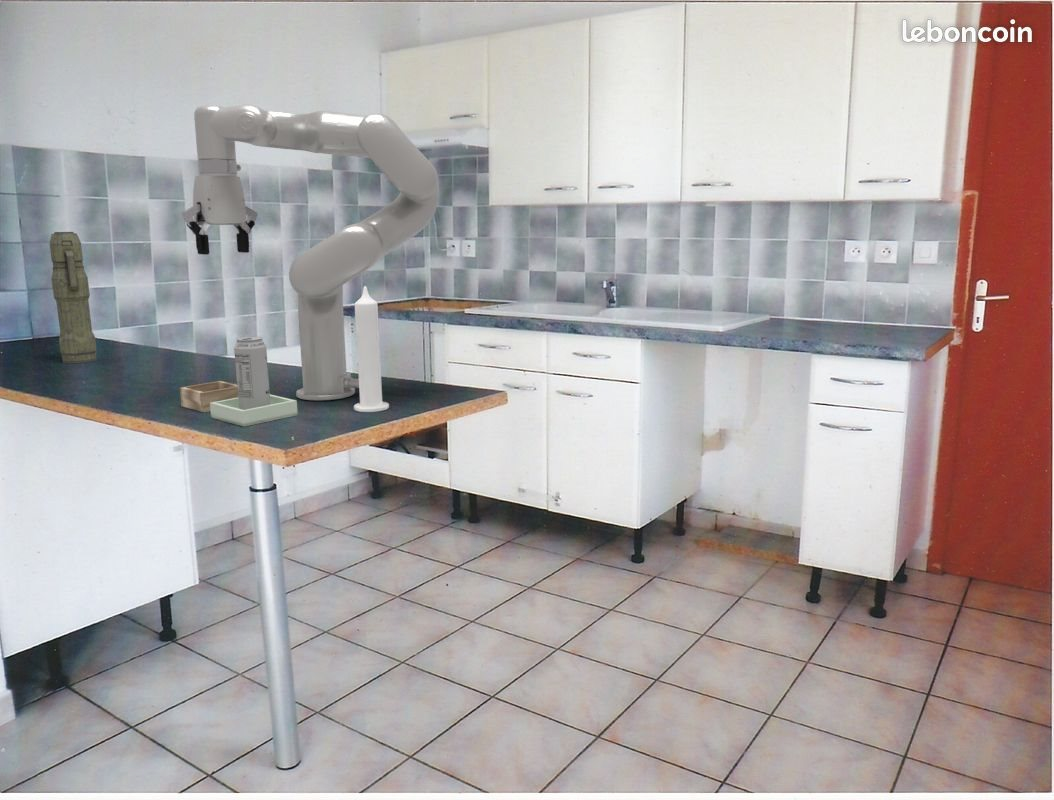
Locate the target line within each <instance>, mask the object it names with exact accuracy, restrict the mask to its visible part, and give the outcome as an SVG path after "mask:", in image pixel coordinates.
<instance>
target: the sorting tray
mask: <svg viewBox="0 0 1054 800" xmlns="http://www.w3.org/2000/svg"><path fill="white" fill-rule="evenodd" d="M270 402H271V405H267V406H262V407H257V408H252V409H247V410H242V409H239V400H238V398H233V399H227V400H222V401H217V402H211V403H210V411H209V412H210V418H212V419H214V420H215V419H216V420H218V421H222V422H226V423H229V424H233V425H235V426H236V425H237V426H240V427H243V428H244V427H249V426H254V425H258V424H263V423H268V422H272V421H273V422H274V421H278V420H282V419H287V418H291V417H296V416H298V415H299V413H298V401H297V400H296V399H291V398H288V397H285V396H284V397H283V396H278V395H275V394H270Z"/></svg>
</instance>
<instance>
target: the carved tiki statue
mask: <svg viewBox="0 0 1054 800" xmlns="http://www.w3.org/2000/svg"><path fill="white" fill-rule="evenodd" d="M50 235H51V236H50V240H49V252H50V257H51V262H52V274H51V277H50V278H51V285H52V293H53V295H52V296H53V298H54V301H55V302H56V309H57V318H58V326H59V338H58V343H59V350H60V351H59V353H60V354H61V358H62V360H61V361H62V362H61V363H63V364H82V363H91V362H92V363H93V362H95V361H97V360H98V357H97V344H96V343H97V341H96V336H95V334H94V332H93V328H92V327H93V326H92V319H91V309H90V303H89V301H90V286H89V285H90V284H89V279H88V275H87V273H86V271H85V267H84V265H83V264H84V263H83V261H84V257H83V250H82V248H83V247H82V243H81V240H80V238H79V236H78V233H75V232H74V231H57V232H56V231H55V232H54V233H51V234H50Z"/></svg>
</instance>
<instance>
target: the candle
mask: <svg viewBox="0 0 1054 800" xmlns="http://www.w3.org/2000/svg"><path fill="white" fill-rule="evenodd" d="M378 306H379V305H378V302H377V300H375V299H374V298H372V297H371V296H370V294H369V290H368V287H367V286H366V285H364V286H363V291H362V295H361V297H360V298H359V299H358V300H357V301H356V302H355V303H354V317H355V320H354V321H355V333H356V334H355V335H356V337H355V339H356V354H357V357H356V358H357V368H358V369H357V372H358V379H359V388H358V389H359V402H358V403H355V404H354V405H353V410H354V411H356V412H359V413H376V412H377V413H378V412H382V411H386V410H388V409H389V408H390V404H389V403H388V402H386V401H383V390H382V387H383V386H382V371H381V370H382V369H381V368H382V367H381V351H380V350H381V348H380V347H381V346H380V329H379V326H380V325H379V312H378V311H379V308H378Z"/></svg>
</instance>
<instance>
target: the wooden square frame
mask: <svg viewBox="0 0 1054 800" xmlns="http://www.w3.org/2000/svg"><path fill="white" fill-rule="evenodd" d="M179 396H180V403H181V404H180V406H181V407H182V408H183V407H184V408H186V409H190V410H194V411H199V412H201V413H209V412H211V411H210V403H211V402H217V401H222V400H227V399H233V398H238V389H237V383H233V382H232V383H231V382H227V381H223V380H217V381H212V382H210V381H209V382H204V383H199V384H193V385H187V386H181V387H179Z"/></svg>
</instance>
